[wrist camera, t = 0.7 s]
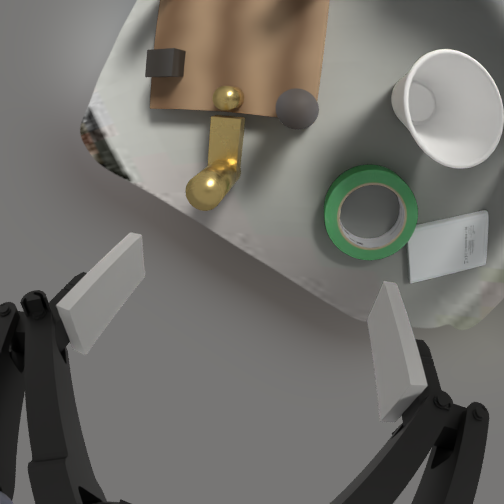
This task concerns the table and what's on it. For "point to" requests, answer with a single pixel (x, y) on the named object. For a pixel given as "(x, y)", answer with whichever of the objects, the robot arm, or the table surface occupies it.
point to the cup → (450, 108)
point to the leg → (220, 153)
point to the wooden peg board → (240, 56)
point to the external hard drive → (447, 246)
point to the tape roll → (385, 242)
